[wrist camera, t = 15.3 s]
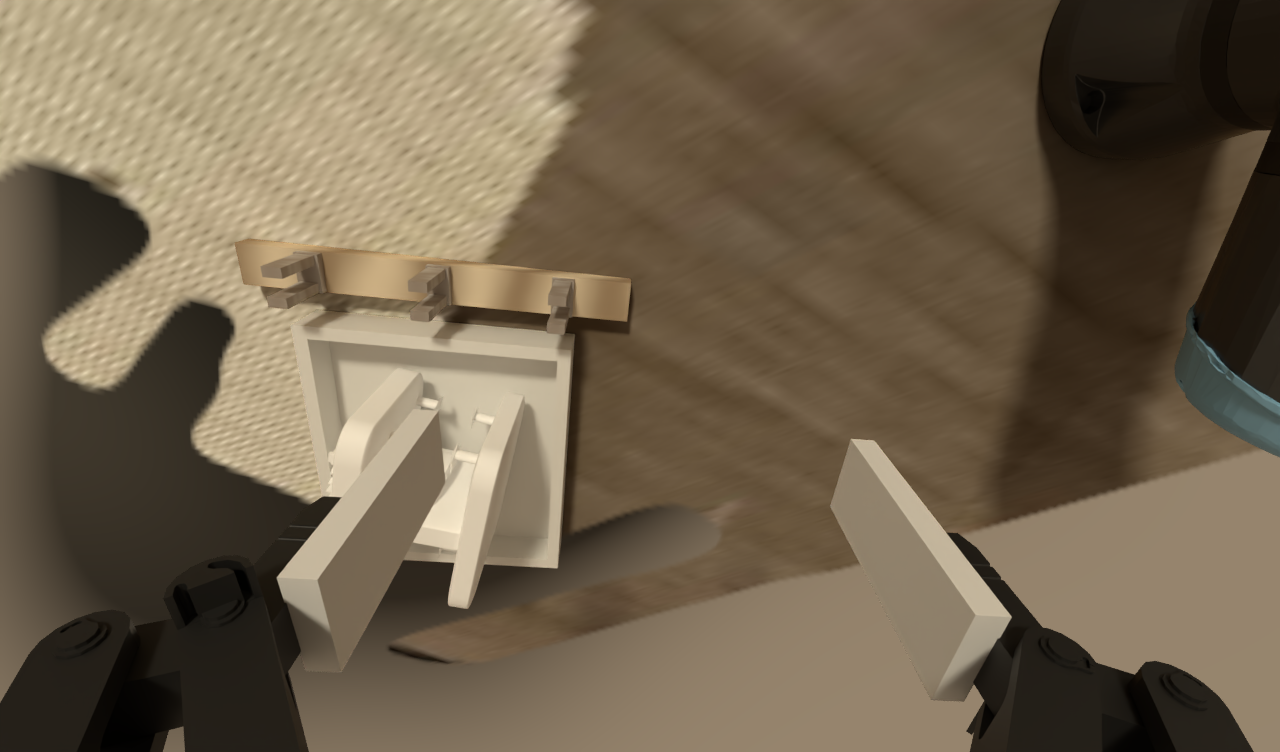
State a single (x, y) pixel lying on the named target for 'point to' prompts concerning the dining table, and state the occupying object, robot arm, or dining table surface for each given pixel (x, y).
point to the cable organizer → (470, 478)
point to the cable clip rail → (429, 282)
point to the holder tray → (453, 407)
